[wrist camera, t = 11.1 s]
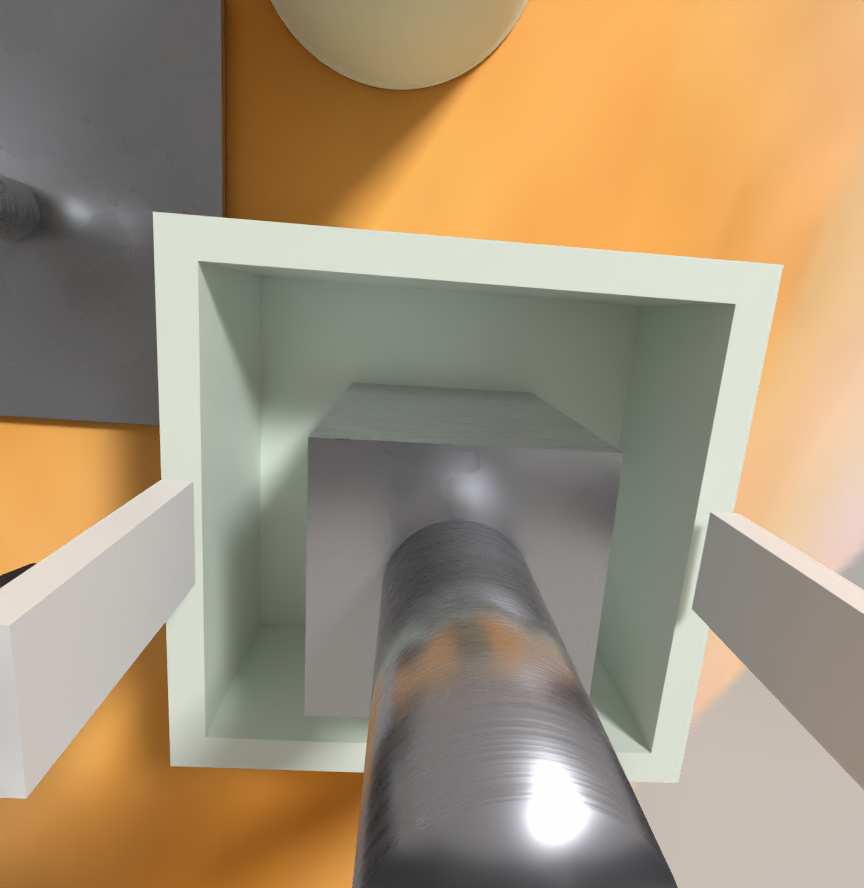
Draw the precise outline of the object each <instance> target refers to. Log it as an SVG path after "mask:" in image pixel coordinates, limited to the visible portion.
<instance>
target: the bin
mask: <svg viewBox="0 0 864 888" xmlns="http://www.w3.org/2000/svg"><path fill="white" fill-rule="evenodd" d="M153 234H154V266H155V297H156V328H157V359H158V390H159V422H160V453H161V479H165V480H181V481H193V488H194V541H195V585H194V586H193V588H192V589H191V590H190V591H189V593H188V594H187V595H186V596H185V598H184V599H183V600H182V602H181V603H180V604H179V605H178V607H177V608H176V609H175V610H174V612H173V613H172V614H171V616H170V617H169V618H168V619H167V621H166V640H167V671H168V703H169V734H170V765H171V766H179V767H210V768H241V769H271V770H302V771H332V772H363V773H364V765H365V755H366V745H367V735H368V725H369V718H361V717H323V716H304V710H305V635H306V559H307V484H308V436H309V435H310V434H311V433H312V432H313V430H314V429H315V428H316V427H317V425H318V424H319V423H320V422H321V420H322V419H323V418H324V417H325V415H326V414H327V413H328V412H329V411H330V409H331V408H332V407H333V406H334V404H335V403H336V402H337V401H338V399H339V398H340V397H341V396H342V394H343V393H344V392H345V391H346V389H347V388H348V387H349V386H350V385H351V383H352V382H354V383H372V384H390V385H407V386H425V387H443V388H460V389H478V390H496V391H514V392H531V393H533V394H535V395H536V396H538V397H539V398H541V399H542V400H544V401H545V402H547V403H548V404H550V405H551V406H553V407H554V408H556V409H558V410H559V411H561V412H562V413H564V414H565V415H567V416H568V417H570V418H571V419H573V420H574V421H576V422H577V423H579V424H580V425H582V426H583V427H585V428H586V429H588V430H589V431H591V432H592V433H594V434H595V435H597V436H598V437H600V438H602V439H603V440H605V441H606V442H608V443H609V444H611V445H612V446H614V447H615V448H617V449H618V450H620V451H621V452H623V453H624V455H623V462H622V469H621V476H620V483H619V491H618V498H617V505H616V512H615V519H614V526H613V533H612V540H611V547H610V554H609V562H608V569H607V576H606V583H605V590H604V597H603V604H602V611H601V618H600V626H599V633H598V640H597V647H596V654H595V661H594V668H593V675H592V682H591V690H590V700H591V702H592V704H593V706H594V708H595V710H596V712H597V715H598V717H599V719H600V721H601V723H602V725H603V727H604V730H605V732H606V734H607V736H608V738H609V740H610V742H611V745H612V747H613V749H614V751H615V753H616V755H617V757H618V760H619V762H620V764H621V766H622V768H623V770H624V772H625V775H626V777H627V779H628V781H638V782H670V783H678V781H679V776H680V772H681V767H682V762H683V757H684V752H685V747H686V742H687V737H688V732H689V728H690V723H691V718H692V713H693V708H694V703H695V698H696V693H697V688H698V683H699V678H700V673H701V669H702V664H703V659H704V654H705V649H706V644H707V639H708V634H709V629H710V628H709V627H708V625H707V624H706V623H705V622H704V621H703V620H702V619H701V618H700V617H699V616H698V615H697V614H696V613H695V612H694V611H693V610H692V604H693V599H694V594H695V588H696V583H697V578H698V573H699V568H700V563H701V558H702V552H703V547H704V542H705V537H706V532H707V527H708V521H709V516H710V512H719V513H733V511H734V506H735V501H736V496H737V491H738V487H739V482H740V477H741V472H742V467H743V462H744V457H745V452H746V447H747V442H748V437H749V432H750V428H751V423H752V418H753V413H754V408H755V403H756V398H757V393H758V388H759V383H760V378H761V373H762V369H763V364H764V359H765V354H766V349H767V344H768V339H769V334H770V329H771V324H772V319H773V314H774V310H775V305H776V300H777V295H778V290H779V285H780V280H781V275H782V270H783V265H779V264H767V263H755V262H743V261H731V260H720V259H708V258H696V257H684V256H672V255H660V254H648V253H637V252H625V251H613V250H601V249H589V248H577V247H566V246H554V245H542V244H530V243H518V242H506V241H495V240H483V239H471V238H459V237H447V236H435V235H424V234H412V233H400V232H388V231H376V230H364V229H352V228H341V227H329V226H317V225H305V224H293V223H281V222H270V221H258V220H246V219H234V218H222V217H210V216H199V215H187V214H175V213H163V212H153Z"/></svg>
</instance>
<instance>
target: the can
mask: <svg viewBox="0 0 864 888" xmlns="http://www.w3.org/2000/svg"><path fill="white" fill-rule="evenodd" d="M270 1H271V2H272V4H273V6H274V8H275V10H276V12H277V13H278V15H279V17H280V18H281V20H282V21H283V22H284V24H285V25H286V26H287V28H288V29H289V30H290V32H291V33H292V34H293V36H294V37H295V38H296V39H297V40H298V41H299V42H300V43H301V44H302V45H303V46H304V47H305V49H306V50H307V51H309V52H310V53H311V54H312V55H313V56H315V57H316V58H317V59H318V60H319V61H321V62H322V63H323V64H325V65H326V66H328V67H330V68H331V69H333V70H334V71H336V72H338V73H340V74H342V75H343V76H345V77H348V78H350V79H352V80H354V81H357V82H360V83H363V84H366V85H370V86H374V87H378V88H385V89H394V90H411V89H418V88H425V87H430V86H434V85H437V84H441V83H444V82H447V81H449V80H451V79H453V78H456V77H458V76H460V75H462V74H463V73H465V72H467V71H469V70H470V69H472V68H473V67H475V66H476V65H478V64H479V63H480V62H482V61H483V60H484V59H485V58H486V57H488V56H489V55H490V54H491V53H492V52H493V51H494V50H495V49H496V48H497V47H498V46H499V45H500V44H501V43H502V42H503V40H504V39H505V38H506V37H507V35H508V34H509V33H510V31H511V30H512V29H513V27H514V26H515V24H516V22H517V21H518V19H519V18H520V16H521V14H522V12H523V10H524V9H525V7H526V5H527V2H528V0H270Z"/></svg>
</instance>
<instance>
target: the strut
mask: <svg viewBox="0 0 864 888" xmlns="http://www.w3.org/2000/svg"><path fill="white" fill-rule="evenodd" d="M623 455H624V453H623V452H621V451H620V450H618V449H617V448H615V447H614V446H612V445H611V444H609V443H608V442H606V441H605V440H603V439H602V438H600V437H598V436H597V435H595V434H594V433H592V432H591V431H589V430H588V429H586V428H585V427H583V426H582V425H580V424H579V423H577V422H576V421H574V420H573V419H571V418H570V417H568V416H567V415H565V414H564V413H562V412H561V411H559V410H558V409H556V408H554V407H553V406H551V405H550V404H548V403H547V402H545V401H544V400H542V399H541V398H539V397H538V396H536V395H535V394H533V393H531V392H514V391H496V390H478V389H460V388H443V387H425V386H407V385H390V384H372V383H354V382H352V383H351V385H350V386H349V387H348V388H347V389H346V391H345V392H344V393H343V394H342V396H341V397H340V398H339V399H338V401H337V402H336V403H335V404H334V406H333V407H332V408H331V409H330V411H329V412H328V413H327V414H326V415H325V417H324V418H323V419H322V420H321V422H320V423H319V424H318V425H317V427H316V428H315V429H314V430H313V432H312V433H311V434H310V435H309V436H308V484H307V559H306V635H305V710H304V716H323V717H361V718H369V725H368V735H367V745H366V755H365V765H364V775H363V785H362V796H361V806H360V816H359V826H358V836H357V846H356V856H355V866H354V877H353V887H352V888H678V887H677V885H676V882H675V880H674V877H673V875H672V873H671V871H670V869H669V867H668V864H667V862H666V860H665V858H664V856H663V854H662V852H661V849H660V847H659V845H658V843H657V841H656V839H655V837H654V834H653V832H652V830H651V828H650V826H649V824H648V822H647V819H646V817H645V815H644V813H643V811H642V809H641V807H640V804H639V803H638V800H637V798H636V796H635V794H634V792H633V789H632V787H631V785H630V783H629V781H628V779H627V777H626V775H625V772H624V770H623V768H622V766H621V764H620V762H619V760H618V757H617V755H616V753H615V751H614V749H613V747H612V745H611V742H610V740H609V738H608V736H607V734H606V732H605V730H604V727H603V725H602V723H601V721H600V719H599V717H598V715H597V712H596V710H595V708H594V706H593V704H592V702H591V700H590V690H591V682H592V675H593V668H594V661H595V654H596V647H597V640H598V633H599V626H600V618H601V611H602V604H603V597H604V590H605V583H606V576H607V569H608V562H609V554H610V547H611V540H612V533H613V526H614V519H615V512H616V505H617V498H618V491H619V483H620V476H621V469H622V462H623Z"/></svg>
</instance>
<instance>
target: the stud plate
mask: <svg viewBox="0 0 864 888" xmlns="http://www.w3.org/2000/svg"><path fill="white" fill-rule="evenodd" d="M153 212H163V213H175V214H187V215H199V216H210V217H222V218H226V119H225V0H0V415H3V416H19V417H34V418H50V419H65V420H81V421H96V422H112V423H127V424H143V425H158V426H160V422H159V390H158V359H157V328H156V297H155V266H154V234H153Z"/></svg>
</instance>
